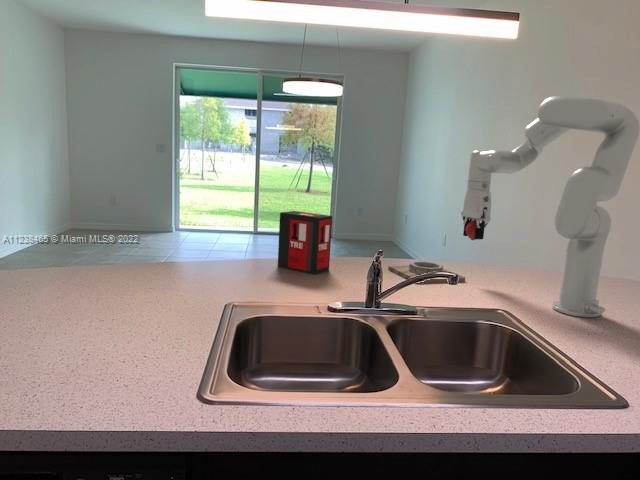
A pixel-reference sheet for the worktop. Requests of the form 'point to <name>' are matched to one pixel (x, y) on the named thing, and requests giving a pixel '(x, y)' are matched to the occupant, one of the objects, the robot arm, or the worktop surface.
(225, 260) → the worktop surface
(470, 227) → the onion
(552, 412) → the worktop surface
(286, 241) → the cleaning product box
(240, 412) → the worktop surface
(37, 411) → the worktop surface
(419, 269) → the cradle
